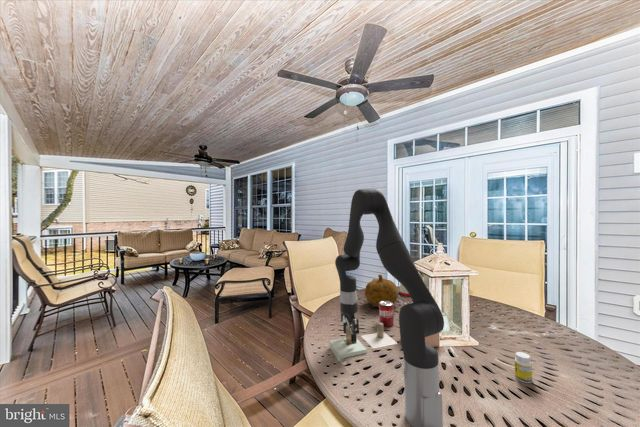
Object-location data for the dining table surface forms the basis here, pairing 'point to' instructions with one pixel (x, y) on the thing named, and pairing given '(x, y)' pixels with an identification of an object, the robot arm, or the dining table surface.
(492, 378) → the dining table surface
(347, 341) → the peg
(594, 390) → the dining table surface
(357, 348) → the peg board
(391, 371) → the dining table surface
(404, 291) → the kitchen timer
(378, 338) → the board
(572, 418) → the dining table surface
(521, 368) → the supplement bottle
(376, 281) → the decorative pumpkin
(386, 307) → the soda can
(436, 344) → the peach stamp with handle
